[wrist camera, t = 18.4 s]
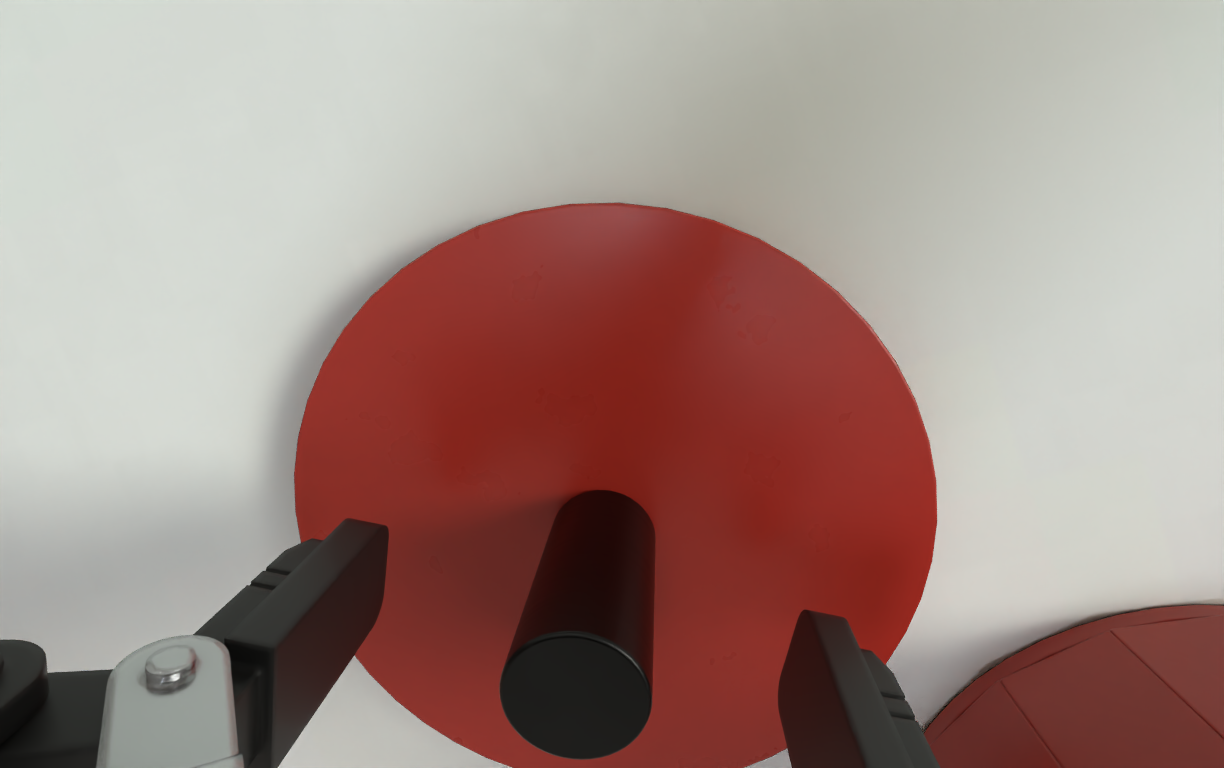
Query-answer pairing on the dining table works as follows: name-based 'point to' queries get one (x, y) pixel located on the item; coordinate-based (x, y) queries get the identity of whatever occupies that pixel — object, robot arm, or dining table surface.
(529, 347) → the lid
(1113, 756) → the pot
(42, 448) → the dining table surface
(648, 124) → the dining table surface
